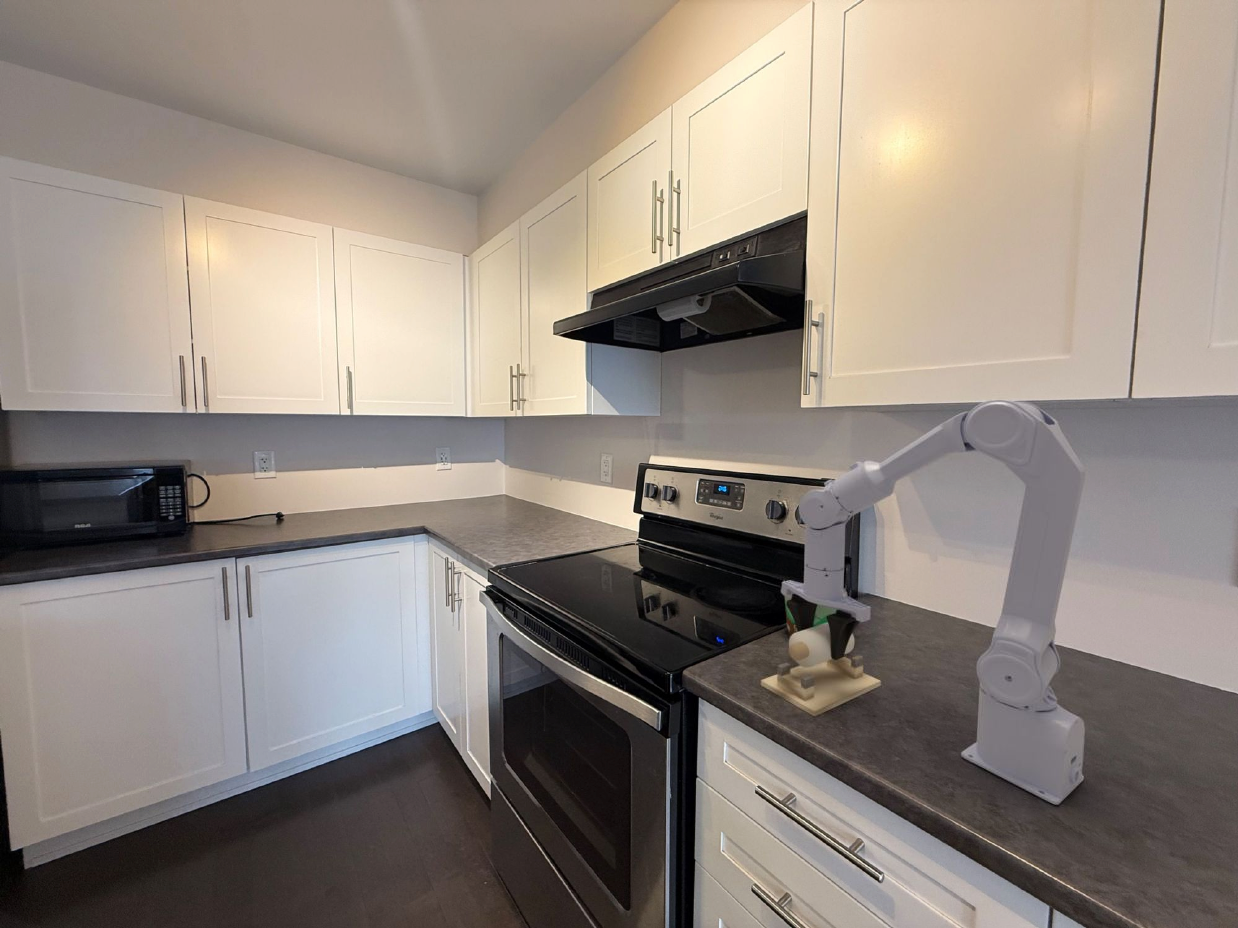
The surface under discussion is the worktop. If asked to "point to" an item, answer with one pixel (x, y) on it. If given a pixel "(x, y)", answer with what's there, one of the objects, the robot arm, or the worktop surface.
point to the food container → (818, 620)
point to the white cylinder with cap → (813, 645)
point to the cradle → (821, 684)
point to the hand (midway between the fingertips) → (821, 650)
